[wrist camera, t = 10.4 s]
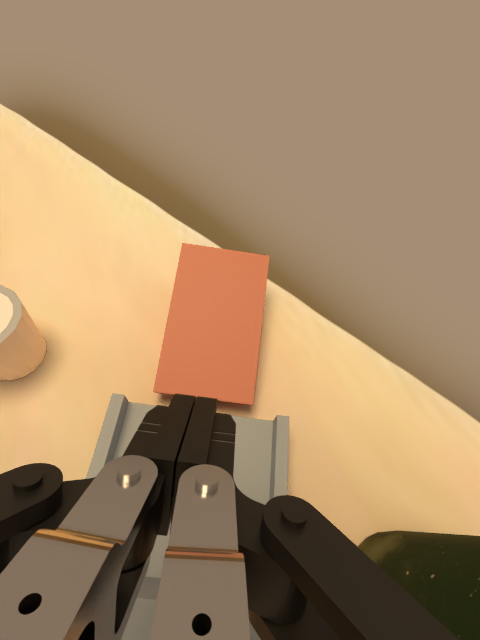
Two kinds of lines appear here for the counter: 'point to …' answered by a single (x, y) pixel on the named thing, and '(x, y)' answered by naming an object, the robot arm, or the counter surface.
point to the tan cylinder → (18, 338)
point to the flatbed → (249, 476)
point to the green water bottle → (434, 574)
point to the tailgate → (214, 325)
